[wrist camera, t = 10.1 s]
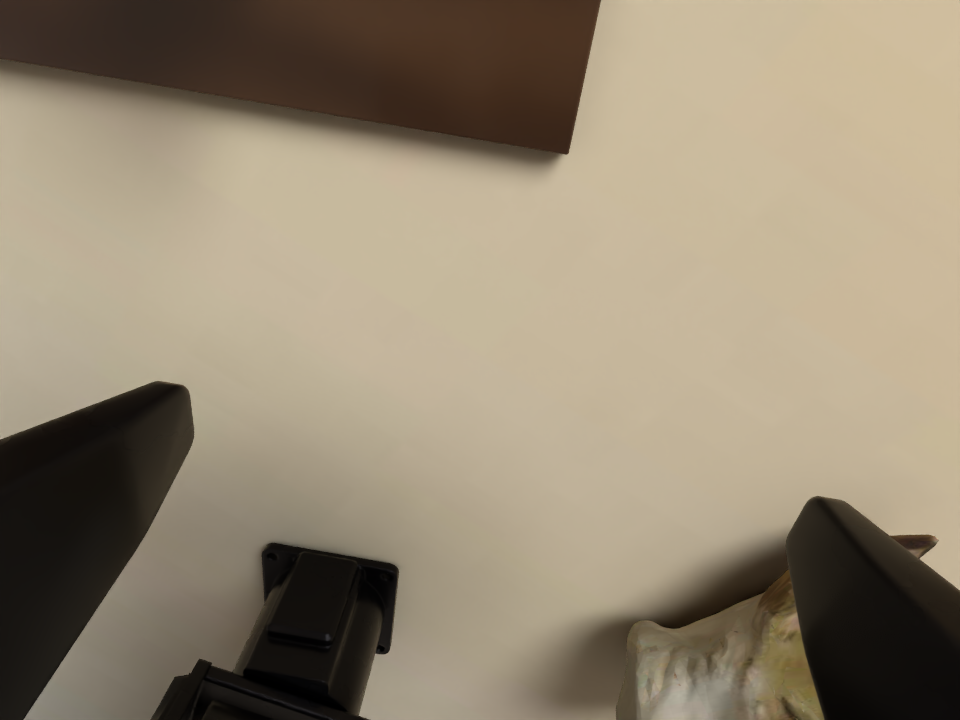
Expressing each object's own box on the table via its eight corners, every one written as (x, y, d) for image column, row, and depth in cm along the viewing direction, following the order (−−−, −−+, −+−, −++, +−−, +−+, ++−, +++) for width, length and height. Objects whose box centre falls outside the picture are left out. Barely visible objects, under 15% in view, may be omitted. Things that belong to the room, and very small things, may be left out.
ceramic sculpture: (570, 795, 21) (1059, 675, 17) (553, 590, 29) (889, 473, 25) (681, 918, 25) (1091, 845, 21) (641, 712, 33) (938, 630, 29)
